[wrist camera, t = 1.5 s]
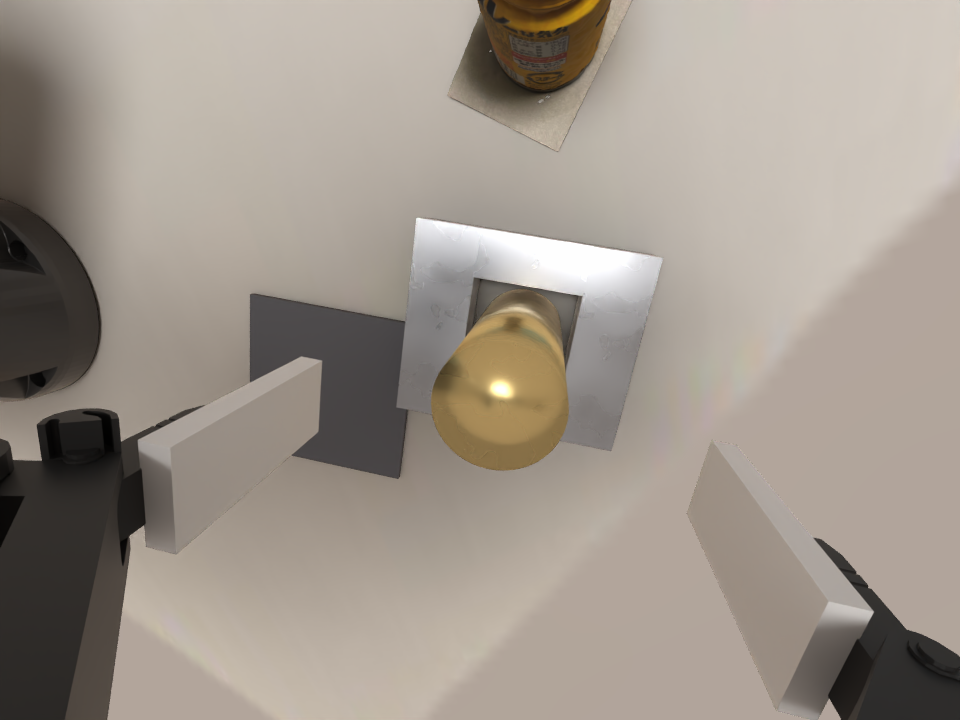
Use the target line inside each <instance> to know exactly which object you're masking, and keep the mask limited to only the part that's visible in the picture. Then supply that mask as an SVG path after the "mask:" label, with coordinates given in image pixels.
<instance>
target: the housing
mask: <svg viewBox="0 0 960 720" xmlns="http://www.w3.org/2000/svg"><path fill="white" fill-rule="evenodd" d="M662 260H663V258H662V257H658V256H655V255H652V254H646V253H640V252H633V251H627V250H621V249H615V248H609V247H603V246H597V245H591V244H585V243H578V242H572V241H566V240H560V239H554V238H548V237H542V236H536V235H529V234H523V233H517V232H511V231H505V230H499V229H493V228H487V227H481V226H474V225H468V224H462V223H456V222H450V221H444V220H438V219H432V218H416V227H415V237H414V246H413V255H412V265H411V274H410V284H409V293H408V303H407V312H406V321H405V331H404V340H403V350H402V359H401V368H400V378H399V387H398V397H397V406H396V407H398V408H403V409H407V410H412V411H417V412H422V413H427V414H432V411H431V395H432V390H433V386H434V383H435V380H436V378H437V376H438V374H439V372H440V371H441V369H442V368H443V366H444V365H445V364H446V362H447V361H448V360H449V358H450V357H451V356H452V354H453V353H454V352H455V350H456V349H457V348H458V346H459V345H460V344H461V342H462V341H463V340H464V338H465V337H466V336H467V334H468V333H469V332H470V330H471V329H472V328H473V322H474V315H475V309H476V302H477V296H478V289H479V282H480V278H482V279H487V280H493V281H499V282H504V283H510V284H516V285H522V286H527V287H533V288H539V289H545V290H550V291H556V292H562V293H568V294H573V295H578V299H577V303H576V308H575V312H574V317H573V322H572V326H571V331H570V335H569V340H568V344H567V349H566V354H565V358H564V363H565V373H566V382H567V392H568V402H569V415H568V422H567V425H566V429H565V431H564V433H563V436H562V438H561V439H560V441H564V442H569V443H573V444H578V445H583V446H588V447H593V448H598V449H603V450H608V451H612V447H613V443H614V439H615V436H616V432H617V428H618V424H619V421H620V417H621V413H622V410H623V406H624V402H625V398H626V395H627V391H628V387H629V383H630V380H631V376H632V372H633V369H634V365H635V361H636V357H637V354H638V350H639V346H640V342H641V339H642V335H643V331H644V328H645V324H646V320H647V316H648V313H649V309H650V305H651V301H652V298H653V294H654V290H655V287H656V283H657V279H658V275H659V272H660V268H661V264H662Z"/></svg>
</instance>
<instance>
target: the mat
mask: <svg viewBox="0 0 960 720" xmlns="http://www.w3.org/2000/svg"><path fill="white" fill-rule="evenodd" d="M404 331H405V322H404V321H398V320H393V319H388V318H382V317H377V316H371V315H366V314H361V313H355V312H350V311H345V310H339V309H334V308H328V307H323V306H318V305H312V304H307V303H302V302H296V301H291V300H286V299H280V298H275V297H269V296H264V295H259V294H250V382H252V381H254V380H256V379H258V378H260V377H262V376H264V375H266V374H268V373H270V372H272V371H274V370H276V369H278V368H280V367H282V366H284V365H286V364H288V363H290V362H292V361H294V360H295V359H297V358H299V357H301V356H302V357H307V358H312V359H316V360H321V361H322V372H321V391H320V410H319V429H318V433H316V434H315V435H314V436H313V437H312V438H311V439H309V440H308V441H307V442H306V443H305V444H304V445H303V446H301V447H300V448H299V449H298V450H297V451H296V452H294V453H293V454H292V456H297V457H301V458H306V459H310V460H315V461H319V462H324V463H328V464H333V465H337V466H342V467H347V468H351V469H356V470H360V471H365V472H369V473H374V474H378V475H383V476H388V477H392V478H397V479H399V477H400V471H401V463H402V454H403V445H404V436H405V428H406V419H407V409H403V408H398V407H396V406H397V397H398V387H399V378H400V368H401V359H402V350H403V340H404Z"/></svg>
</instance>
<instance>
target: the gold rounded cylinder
mask: <svg viewBox="0 0 960 720" xmlns="http://www.w3.org/2000/svg"><path fill="white" fill-rule="evenodd" d="M431 411H432V416H433V420H434V423H435V426H436V428H437V430H438V432H439V434H440V436H441V437H442V439H443V440H444V442H445V443H446V444H447V445H448V446H449V448H450V449H451V450H452V451H454V452H455V453H456V454H457V455H458V456H460V457H461V458H463V459H464V460H466V461H468V462H470V463H472V464H474V465H477V466H479V467H483V468H486V469H492V470H515V469H520V468H524V467H527V466H529V465H532V464H534V463H536V462H538V461H539V460H541V459H542V458H544V457H545V456H546V455H548V454H549V453H550V452H551V451H552V450H553V449H554V448H555V446H556V445H557V444H558V442H559V441H560V439H561V438H562V436H563V433H564V431H565V429H566V425H567V422H568V415H569V402H568V392H567V382H566V373H565V363H564V353H563V343H562V333H561V324H560V318H559V315H558V313H557V310H556V309H555V307H554V306H553V304H552V303H551V302H550V301H549V300H548V299H547V298H546V297H544V296H543V295H541V294H539V293H537V292H535V291H531V290H526V289H516V290H511V291H508V292H505V293H503V294H501V295H500V296H498V297H497V298H496V299H494V300H493V301H492V303H491V304H490V305H489V306H488V308H487V309H486V310H485V312H484V313H483V314H482V316H481V317H480V318H479V320H478V321H477V322H476V324H475V325H474V326H473V328H472V329H471V330H470V332H469V333H468V334H467V336H466V337H465V338H464V340H463V341H462V342H461V344H460V345H459V346H458V348H457V349H456V350H455V352H454V353H453V354H452V356H451V357H450V358H449V360H448V361H447V362H446V364H445V365H444V366H443V368H442V369H441V371H440V372H439V374H438V376H437V378H436V380H435V383H434V386H433V390H432V395H431Z"/></svg>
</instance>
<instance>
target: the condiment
mask: <svg viewBox="0 0 960 720" xmlns="http://www.w3.org/2000/svg"><path fill="white" fill-rule="evenodd" d="M631 2H632V0H478V4H479V7H480V11H481V13H480V16H479V18H478V20H477V23H476V25H475V27H474V29H473V32H472V34H471V37H470V40H469V43H468V45H467V47H466V49H465V53H464V55H463V58H462V60H461V63H460V65H459V68H458V70H457V72H456V74H455V76H454V79H453V82H452V84H451V87H450V89H449V92H448V94H447V95H448V96H450V97H452V98H454V99H456V100H458V101H460V102H461V103H463V104H465V105H467V106H469V107H471V108H473V109H475V110H477V111H479V112H481V113H483V114H484V115H486V116H488V117H490V118H492V119H494V120H496V121H498V122H500V123H502V124H504V125H506V126H508V127H510V128H512V129H513V130H516V131H518V132H520V133H522V134H524V135H526V136H528V137H530V138H531V139H533V140H535V141H537V142H539V143H541V144H543V145H545V146H547V147H549V148H551V149H553V150H555V151H557V152H558V150H559V148H560V146H561V144H562V142H563V140H564V138H565V136H566V134H567V132H568V130H569V128H570V126H571V124H572V122H573V120H574V118H575V116H576V114H577V111H578V109H579V107H580V106H581V104H582V101H583V99H584V97H585V95H586V93H587V91H588V89H589V87H590V85H591V83H592V81H593V79H594V77H595V75H596V73H597V71H598V69H599V67H600V65H601V63H602V61H603V59H604V57H605V55H606V53H607V51H608V49H609V47H610V44H611V42H612V40H613V38H614V36H615V34H616V32H617V30H618V28H619V26H620V24H621V22H622V20H623V18H624V16H625V14H626V12H627V10H628V8H629V6H630V4H631ZM490 50H492V52H490V53H489V51H490ZM546 95H550V98H548V99H546V98H545V96H546ZM540 99H544V101H543V102H542V103H538V101H539V100H540Z"/></svg>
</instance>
